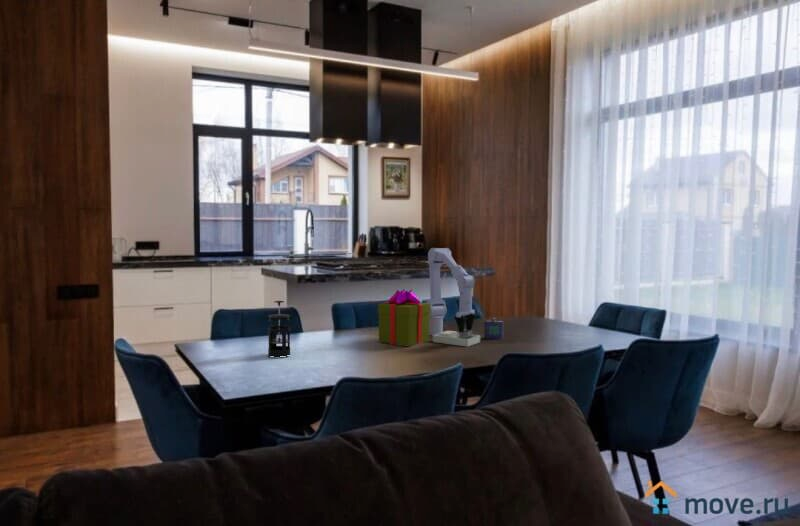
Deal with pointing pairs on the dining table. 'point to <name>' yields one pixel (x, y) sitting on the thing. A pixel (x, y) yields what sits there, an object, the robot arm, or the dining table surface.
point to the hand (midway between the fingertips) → (465, 330)
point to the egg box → (449, 334)
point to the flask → (493, 329)
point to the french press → (273, 330)
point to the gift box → (403, 319)
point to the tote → (457, 340)
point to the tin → (465, 334)
